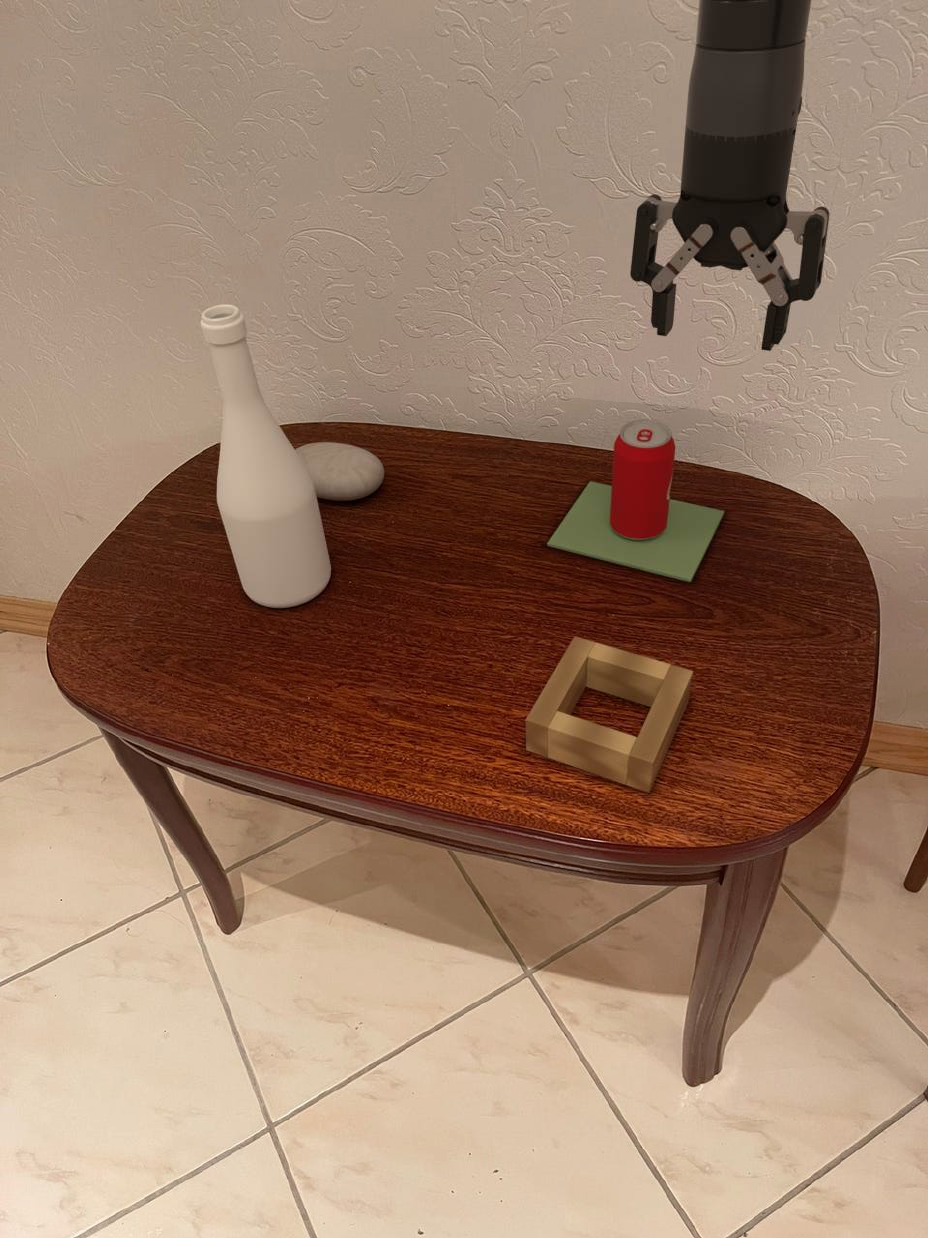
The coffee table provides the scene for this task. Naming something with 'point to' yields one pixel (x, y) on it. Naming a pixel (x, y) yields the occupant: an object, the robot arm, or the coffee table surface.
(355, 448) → the decorative stone
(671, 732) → the stand
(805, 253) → the robot arm
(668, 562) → the pad
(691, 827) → the coffee table surface
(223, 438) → the wine bottle
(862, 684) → the coffee table surface
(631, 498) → the beverage can
